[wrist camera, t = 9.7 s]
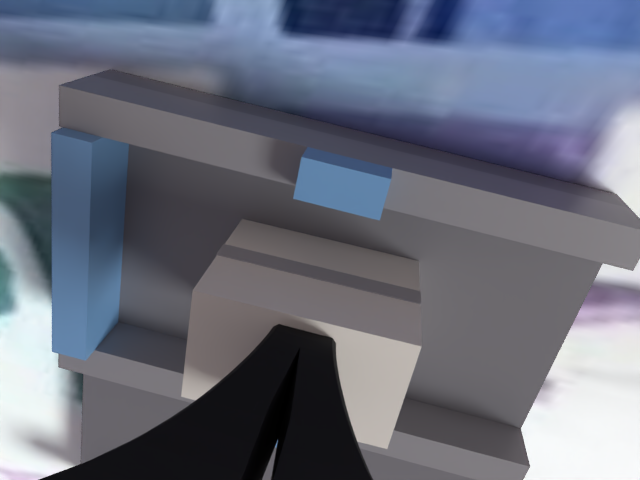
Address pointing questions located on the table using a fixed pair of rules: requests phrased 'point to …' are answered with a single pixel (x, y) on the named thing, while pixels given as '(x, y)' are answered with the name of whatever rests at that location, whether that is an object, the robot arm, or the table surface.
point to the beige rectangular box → (311, 316)
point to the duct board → (325, 222)
